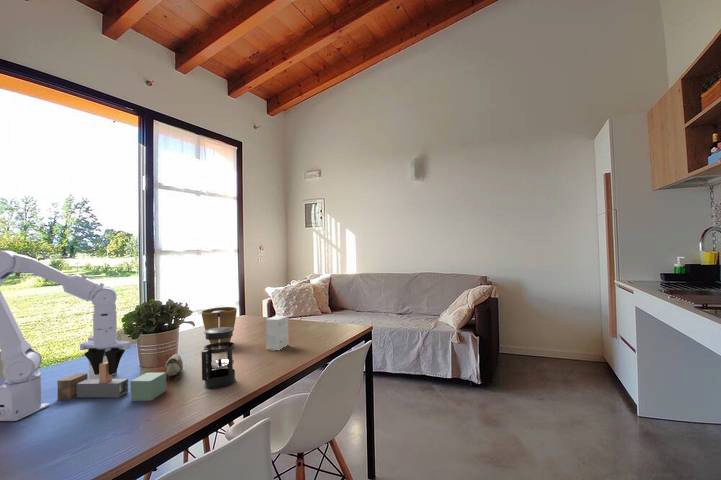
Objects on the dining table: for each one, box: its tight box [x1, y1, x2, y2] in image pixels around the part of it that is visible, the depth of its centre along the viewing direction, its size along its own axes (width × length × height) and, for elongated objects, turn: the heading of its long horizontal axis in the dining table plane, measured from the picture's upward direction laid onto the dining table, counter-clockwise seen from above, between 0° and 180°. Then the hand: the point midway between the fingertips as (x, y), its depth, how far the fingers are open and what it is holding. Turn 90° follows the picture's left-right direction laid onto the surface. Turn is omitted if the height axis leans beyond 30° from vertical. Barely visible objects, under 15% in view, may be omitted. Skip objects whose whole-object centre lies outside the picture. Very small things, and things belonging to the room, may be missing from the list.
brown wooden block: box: [56, 372, 89, 401], centre depth 108 cm, size 4×6×6 cm, turn 176°
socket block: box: [130, 371, 167, 401], centre depth 106 cm, size 6×7×6 cm
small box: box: [264, 315, 290, 351], centre depth 154 cm, size 8×6×13 cm
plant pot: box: [200, 306, 238, 348], centre depth 161 cm, size 15×15×16 cm
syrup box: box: [87, 335, 118, 379], centre depth 124 cm, size 6×6×14 cm
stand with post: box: [76, 362, 129, 399], centre depth 107 cm, size 13×4×9 cm, turn 86°
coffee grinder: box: [201, 310, 237, 390], centre depth 114 cm, size 12×9×23 cm
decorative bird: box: [164, 353, 184, 383], centre depth 123 cm, size 5×16×8 cm, turn 22°
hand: (105, 373), depth 107 cm, fingers open, 4 cm apart
